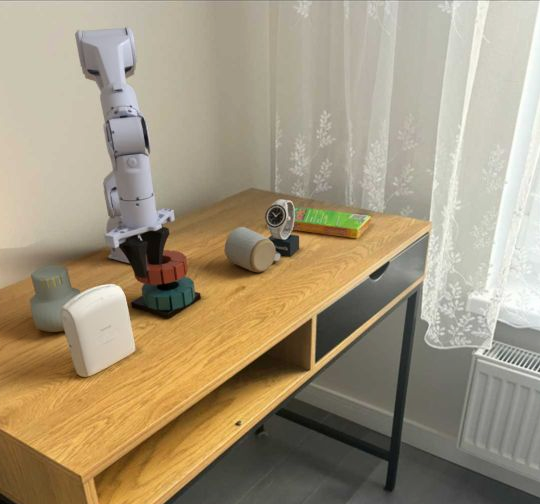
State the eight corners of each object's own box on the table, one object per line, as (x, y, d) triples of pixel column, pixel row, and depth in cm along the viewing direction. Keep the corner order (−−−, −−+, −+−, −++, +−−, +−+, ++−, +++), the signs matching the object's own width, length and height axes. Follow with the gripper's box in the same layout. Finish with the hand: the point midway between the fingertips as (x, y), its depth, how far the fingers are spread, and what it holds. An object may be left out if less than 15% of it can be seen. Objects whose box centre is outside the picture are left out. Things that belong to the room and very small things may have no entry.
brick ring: (124, 278, 108) (121, 264, 106) (159, 259, 114) (157, 246, 113) (163, 288, 103) (161, 274, 102) (197, 269, 110) (196, 255, 108)
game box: (356, 242, 135) (273, 227, 143) (370, 228, 143) (290, 214, 150) (357, 229, 134) (273, 214, 141) (371, 215, 141) (291, 202, 149)
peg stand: (131, 307, 111) (124, 271, 107) (164, 288, 117) (159, 253, 113) (168, 319, 107) (163, 281, 103) (201, 298, 113) (197, 262, 109)
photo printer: (86, 381, 91) (69, 307, 84) (70, 371, 93) (51, 299, 87) (140, 352, 97) (128, 281, 91) (123, 343, 100) (110, 274, 93)
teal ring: (133, 303, 110) (131, 290, 108) (166, 283, 116) (165, 271, 115) (172, 314, 105) (170, 301, 104) (205, 293, 112) (203, 280, 111)
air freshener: (35, 315, 110) (21, 264, 105) (82, 306, 112) (70, 255, 107) (39, 343, 101) (24, 289, 96) (90, 332, 103) (78, 279, 98)
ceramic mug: (252, 279, 119) (250, 241, 115) (225, 268, 124) (222, 231, 120) (290, 263, 125) (289, 227, 122) (262, 253, 131) (261, 218, 127)
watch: (263, 256, 129) (260, 205, 123) (280, 242, 135) (278, 194, 129) (286, 260, 127) (285, 208, 121) (303, 246, 133) (302, 196, 127)
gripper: (122, 212, 92) (136, 293, 99) (184, 186, 102) (192, 262, 109) (89, 205, 95) (105, 285, 102) (152, 181, 105) (163, 255, 112)
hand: (148, 272), depth 106 cm, fingers closed on brick ring, 3 cm apart
